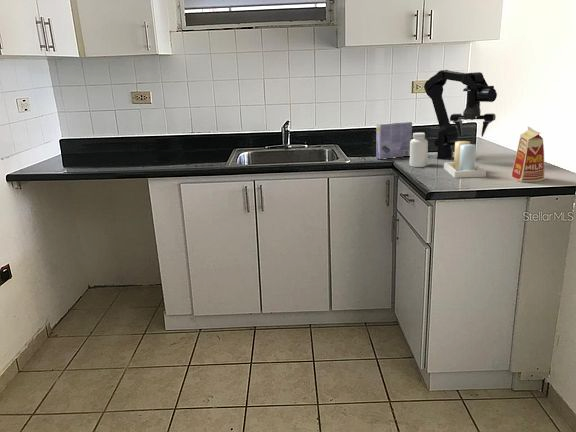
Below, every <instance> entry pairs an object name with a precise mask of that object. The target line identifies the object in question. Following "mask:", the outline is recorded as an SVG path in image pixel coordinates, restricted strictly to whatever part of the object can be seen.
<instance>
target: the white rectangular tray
mask: <svg viewBox="0 0 576 432" xmlns="http://www.w3.org/2000/svg"><path fill="white" fill-rule="evenodd" d="M443 169H444V170H445V171H446V172H447V173H449V175H450V176H452V177H453V178H454V179H459V178H460V179H463V178H486V177H487V170H486V169H485V168H483V167H481V166H480V165H479V164H477V163H475V170H472V171H459V169H454V161H452V162H450V161H449V162H443Z"/></svg>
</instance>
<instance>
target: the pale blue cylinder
mask: <svg viewBox="0 0 576 432" xmlns="http://www.w3.org/2000/svg"><path fill="white" fill-rule="evenodd" d="M476 153H477V144H473V143H470V144H462V145H460V163H459V171H472V170H475V164H476V155H477V154H476Z"/></svg>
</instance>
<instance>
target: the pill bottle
mask: <svg viewBox="0 0 576 432" xmlns="http://www.w3.org/2000/svg"><path fill="white" fill-rule="evenodd" d="M412 138H413V139H412V140H411V141H410V157H409V162H408V163H409V166H410V167H412V168H424V167H427V166H428V154H429V153H428V152H429V151H428V148H429V141H428V140H427V139H426V133H425V132H412Z"/></svg>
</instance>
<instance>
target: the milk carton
mask: <svg viewBox="0 0 576 432" xmlns="http://www.w3.org/2000/svg"><path fill="white" fill-rule="evenodd" d="M510 178H512V179H515V180H517V181H518V182H519V183H526V182H528V183H531V182H541V181H545V147H544V138H543V137H542V136H541V132H540V131H537V130H535V129H533V128H532V127H531V126H527V130H526V131H524V132H523V133H521V134H520V135H519V140H518V145H517V149H516V155H515V157H514V162H513V167H512V169H511V172H510Z"/></svg>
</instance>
